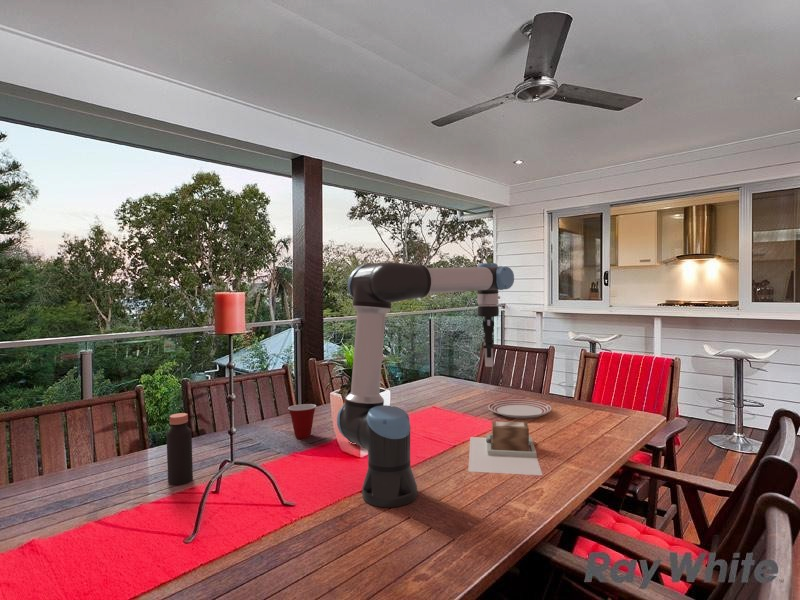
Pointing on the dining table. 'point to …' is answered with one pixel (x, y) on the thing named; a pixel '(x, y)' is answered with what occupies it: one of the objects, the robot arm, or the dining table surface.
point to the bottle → (179, 450)
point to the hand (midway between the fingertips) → (488, 363)
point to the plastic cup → (302, 419)
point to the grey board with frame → (501, 458)
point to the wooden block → (510, 436)
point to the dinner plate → (520, 408)
